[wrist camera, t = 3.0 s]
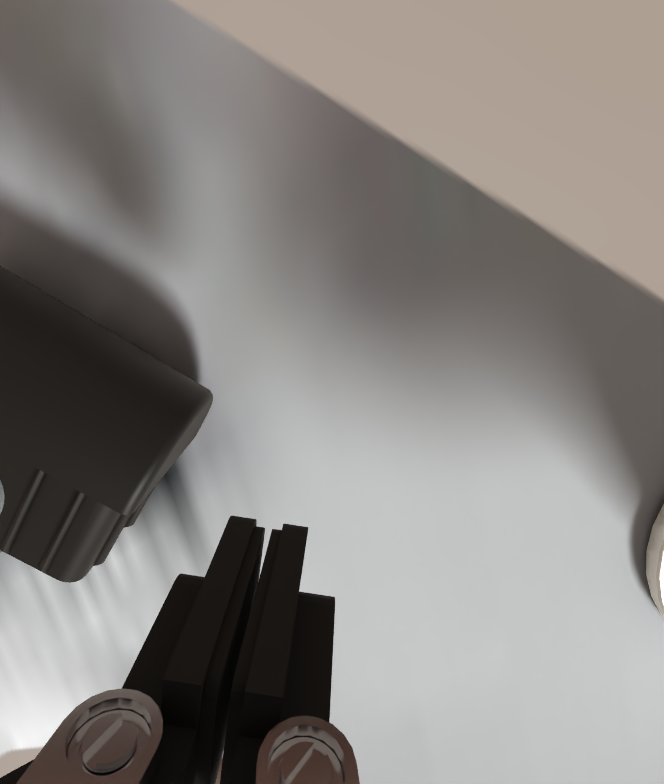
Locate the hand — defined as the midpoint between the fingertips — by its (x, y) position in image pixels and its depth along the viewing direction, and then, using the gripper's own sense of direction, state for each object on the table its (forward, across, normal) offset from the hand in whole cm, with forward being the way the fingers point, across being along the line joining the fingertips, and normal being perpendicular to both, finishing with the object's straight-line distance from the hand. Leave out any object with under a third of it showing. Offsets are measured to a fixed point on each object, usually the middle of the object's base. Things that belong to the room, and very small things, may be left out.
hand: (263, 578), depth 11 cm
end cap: (+11, +9, 0) cm, 14 cm away
